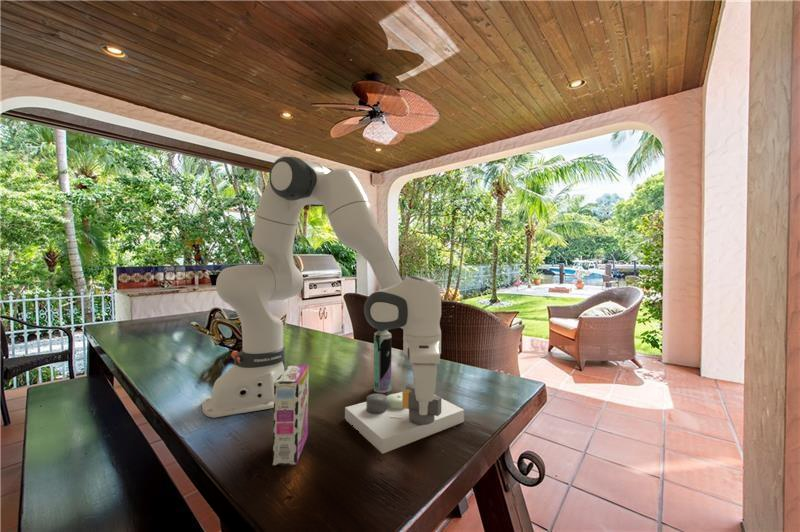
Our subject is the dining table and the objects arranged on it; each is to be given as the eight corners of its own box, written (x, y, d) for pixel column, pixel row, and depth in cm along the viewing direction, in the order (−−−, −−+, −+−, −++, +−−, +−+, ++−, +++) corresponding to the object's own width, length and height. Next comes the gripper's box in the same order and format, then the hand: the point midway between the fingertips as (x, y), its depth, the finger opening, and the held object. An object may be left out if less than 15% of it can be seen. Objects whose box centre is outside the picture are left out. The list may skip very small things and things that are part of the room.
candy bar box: (298, 465, 63) (298, 382, 63) (272, 467, 63) (272, 382, 62) (309, 435, 74) (309, 364, 74) (287, 436, 74) (287, 364, 74)
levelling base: (382, 453, 67) (382, 425, 67) (345, 419, 82) (345, 395, 82) (464, 421, 81) (464, 397, 81) (419, 397, 96) (419, 376, 96)
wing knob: (444, 417, 76) (444, 393, 76) (434, 429, 71) (434, 403, 71) (410, 409, 80) (410, 386, 80) (398, 419, 75) (398, 394, 75)
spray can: (388, 393, 98) (389, 327, 98) (371, 392, 99) (371, 327, 99) (392, 386, 103) (393, 324, 103) (376, 385, 104) (376, 323, 104)
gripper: (407, 335, 86) (407, 387, 86) (409, 357, 65) (409, 425, 66) (431, 335, 86) (430, 387, 86) (440, 358, 65) (440, 426, 66)
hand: (421, 404), depth 76 cm, fingers open, 8 cm apart
